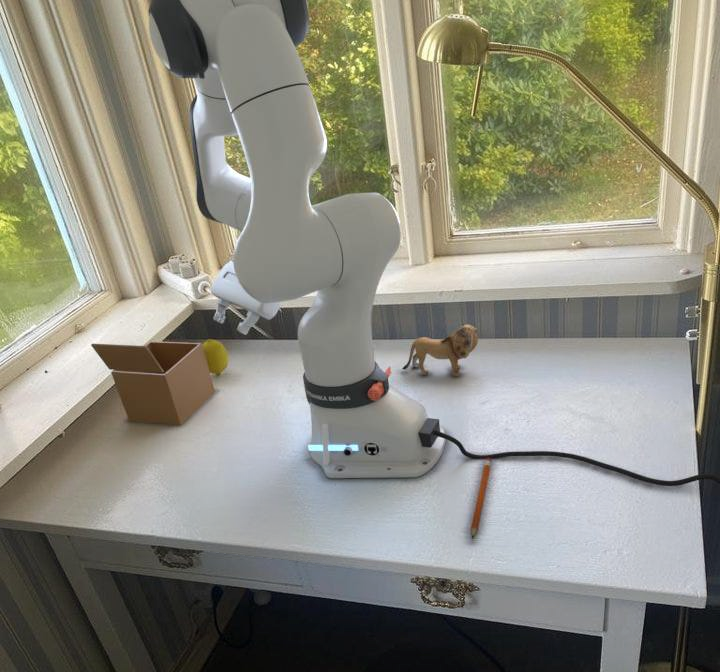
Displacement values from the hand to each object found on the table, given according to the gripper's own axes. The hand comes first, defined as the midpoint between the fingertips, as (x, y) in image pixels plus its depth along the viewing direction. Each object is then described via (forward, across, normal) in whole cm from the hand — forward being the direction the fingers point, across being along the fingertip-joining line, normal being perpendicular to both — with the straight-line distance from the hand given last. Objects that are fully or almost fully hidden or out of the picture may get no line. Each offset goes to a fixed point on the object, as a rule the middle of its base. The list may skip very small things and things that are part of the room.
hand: (229, 327), depth 147 cm
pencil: (+7, +69, +6) cm, 70 cm away
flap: (+13, +8, -21) cm, 26 cm away
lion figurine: (-11, +36, +23) cm, 45 cm away
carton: (+19, +4, -6) cm, 20 cm away
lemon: (+10, 0, +3) cm, 10 cm away
